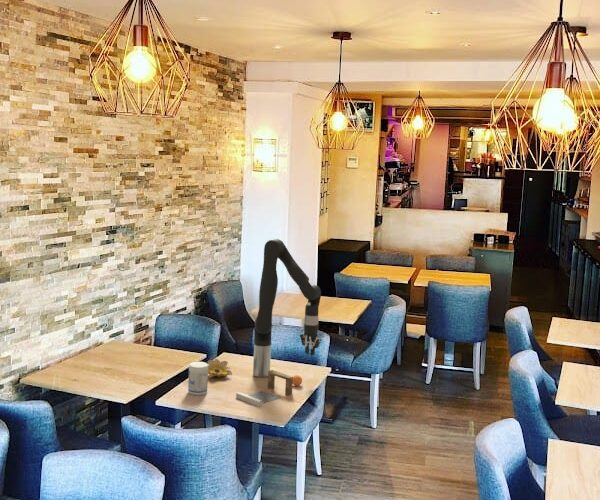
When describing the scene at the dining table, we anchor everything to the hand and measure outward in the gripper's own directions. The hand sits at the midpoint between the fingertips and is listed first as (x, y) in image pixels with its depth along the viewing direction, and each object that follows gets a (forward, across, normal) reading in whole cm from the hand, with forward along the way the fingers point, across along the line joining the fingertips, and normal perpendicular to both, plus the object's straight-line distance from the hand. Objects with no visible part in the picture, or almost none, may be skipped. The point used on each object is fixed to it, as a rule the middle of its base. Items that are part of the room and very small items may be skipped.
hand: (309, 354), depth 370 cm
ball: (+12, 0, +10) cm, 16 cm away
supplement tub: (+15, +26, +55) cm, 63 cm away
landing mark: (+15, 0, +36) cm, 39 cm away
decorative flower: (+15, +38, +32) cm, 52 cm away
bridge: (+15, 0, +22) cm, 27 cm away
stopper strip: (+15, 0, +44) cm, 47 cm away
